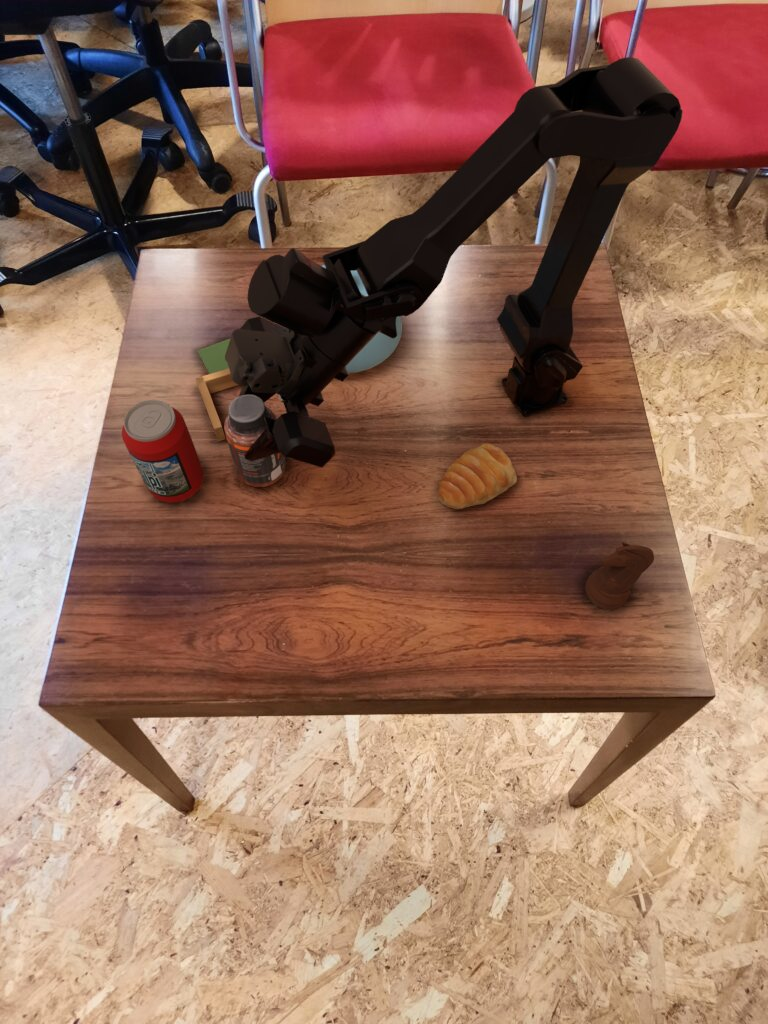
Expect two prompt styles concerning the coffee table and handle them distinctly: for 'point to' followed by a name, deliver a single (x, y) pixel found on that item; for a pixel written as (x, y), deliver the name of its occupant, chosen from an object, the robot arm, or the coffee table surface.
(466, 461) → the pastry
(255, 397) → the supplement bottle
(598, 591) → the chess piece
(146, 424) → the beverage can
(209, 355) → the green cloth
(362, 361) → the sugar bowl
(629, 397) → the coffee table surface
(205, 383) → the corner guard
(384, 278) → the robot arm
